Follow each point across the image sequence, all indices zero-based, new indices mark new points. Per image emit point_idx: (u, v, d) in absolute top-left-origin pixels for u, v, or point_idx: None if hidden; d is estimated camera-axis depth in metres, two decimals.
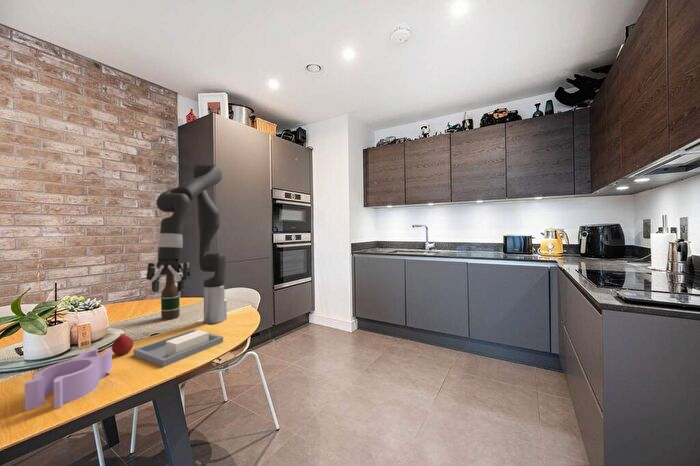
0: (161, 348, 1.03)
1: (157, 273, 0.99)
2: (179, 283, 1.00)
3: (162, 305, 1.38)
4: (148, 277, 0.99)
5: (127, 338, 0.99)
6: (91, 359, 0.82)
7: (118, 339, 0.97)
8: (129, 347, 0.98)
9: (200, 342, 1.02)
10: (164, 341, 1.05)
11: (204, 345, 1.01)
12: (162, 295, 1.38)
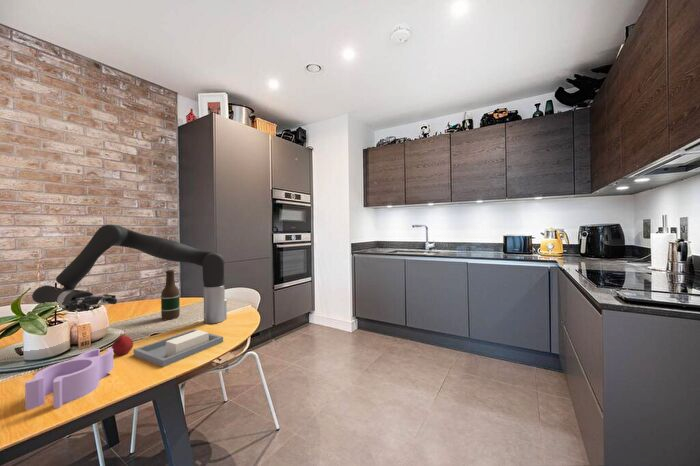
0: (161, 348, 1.03)
1: None
2: (81, 309, 0.99)
3: (162, 305, 1.38)
4: None
5: (127, 338, 0.99)
6: (92, 359, 0.82)
7: (118, 339, 0.97)
8: (129, 347, 0.98)
9: (200, 342, 1.02)
10: (164, 341, 1.05)
11: (204, 345, 1.01)
12: (162, 295, 1.38)
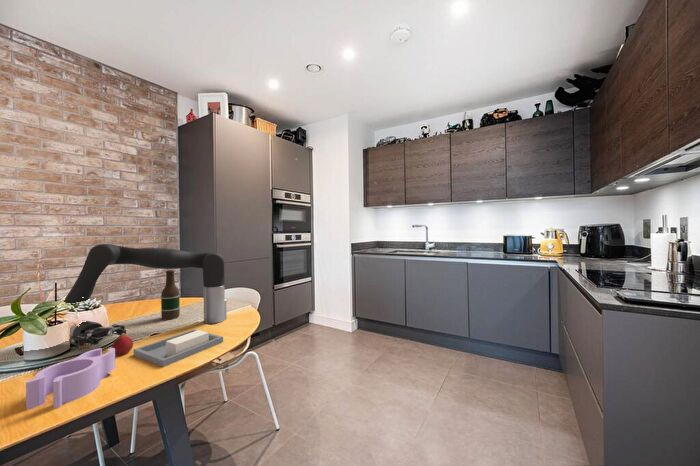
0: (161, 348, 1.03)
1: None
2: None
3: (162, 305, 1.38)
4: None
5: (127, 338, 0.99)
6: (93, 359, 0.82)
7: (118, 339, 0.97)
8: (129, 347, 0.98)
9: (200, 342, 1.02)
10: (164, 341, 1.05)
11: (204, 345, 1.01)
12: (162, 295, 1.38)
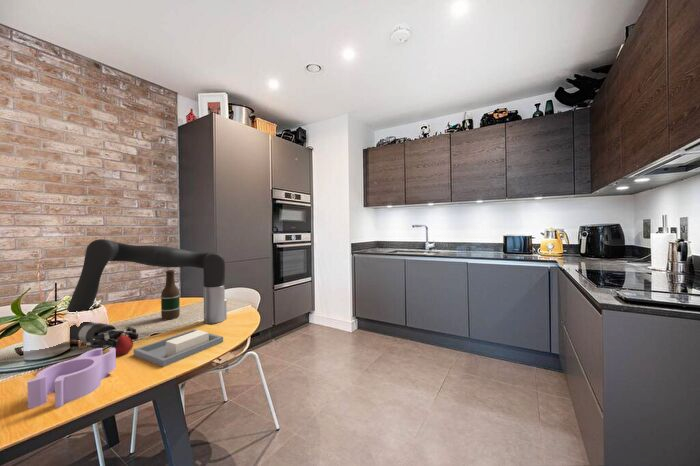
0: (161, 348, 1.03)
1: None
2: None
3: (162, 305, 1.38)
4: None
5: (127, 338, 0.99)
6: (94, 358, 0.82)
7: (118, 339, 0.97)
8: (129, 347, 0.98)
9: (200, 342, 1.02)
10: (164, 341, 1.05)
11: (204, 345, 1.01)
12: (162, 295, 1.38)
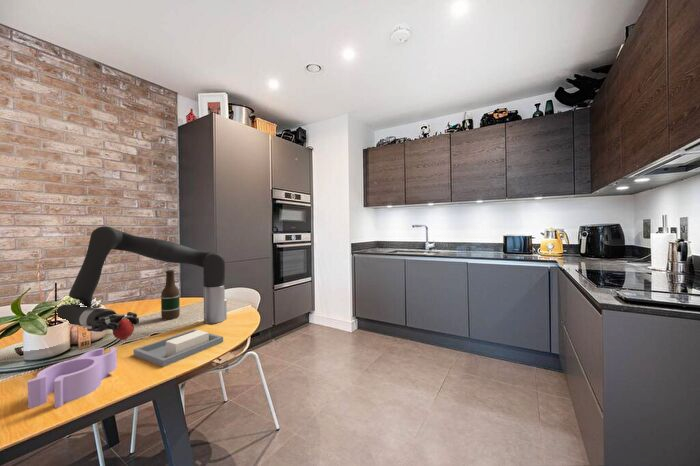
0: (161, 348, 1.03)
1: None
2: (111, 329, 0.96)
3: (162, 305, 1.38)
4: None
5: (128, 322, 0.99)
6: (95, 358, 0.82)
7: (119, 323, 0.97)
8: (130, 331, 0.98)
9: (200, 342, 1.02)
10: (164, 341, 1.05)
11: (204, 345, 1.01)
12: (162, 295, 1.38)
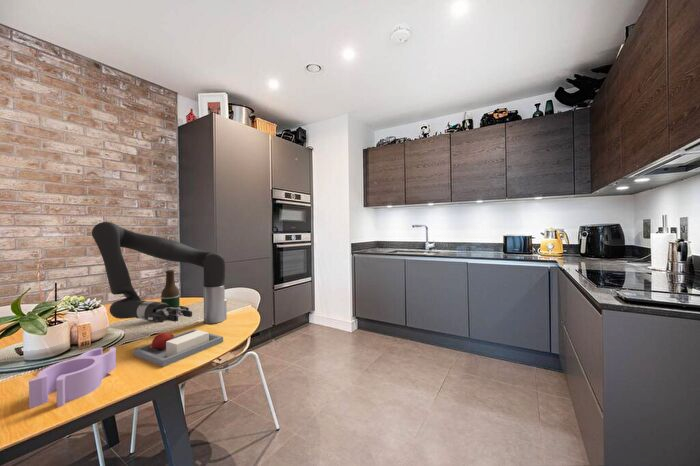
0: None
1: None
2: None
3: None
4: None
5: (153, 343, 0.99)
6: (95, 358, 0.83)
7: (156, 349, 1.00)
8: (162, 337, 1.00)
9: (200, 342, 1.02)
10: None
11: (204, 345, 1.01)
12: (162, 295, 1.38)
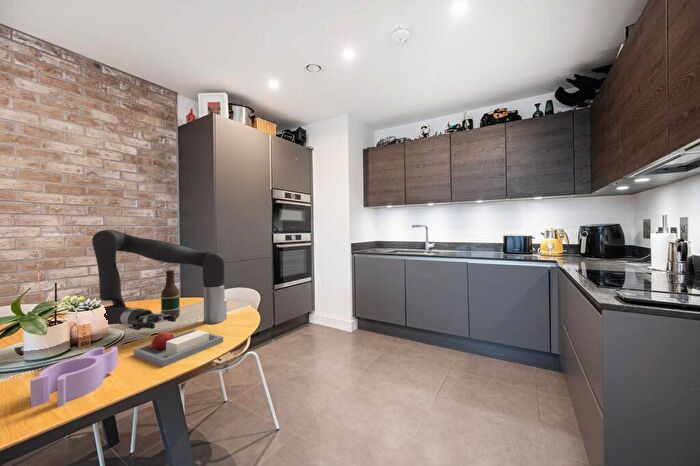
0: None
1: None
2: (147, 327, 1.06)
3: (162, 305, 1.38)
4: None
5: (153, 343, 0.99)
6: (96, 357, 0.83)
7: None
8: (162, 337, 1.00)
9: (200, 342, 1.02)
10: None
11: (204, 345, 1.01)
12: (162, 295, 1.38)
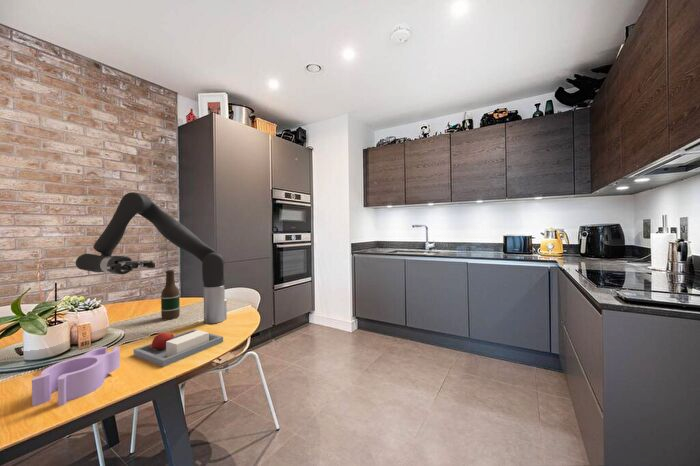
0: None
1: None
2: (125, 270, 1.07)
3: (162, 305, 1.38)
4: None
5: (153, 342, 0.99)
6: (98, 357, 0.83)
7: None
8: (162, 337, 1.00)
9: (200, 342, 1.02)
10: None
11: (204, 345, 1.01)
12: (162, 295, 1.38)
